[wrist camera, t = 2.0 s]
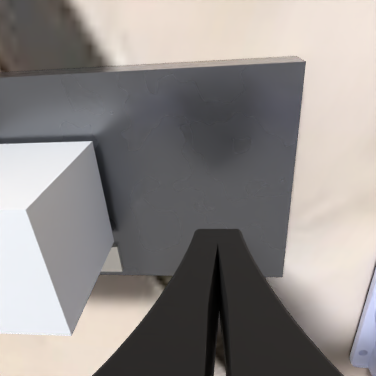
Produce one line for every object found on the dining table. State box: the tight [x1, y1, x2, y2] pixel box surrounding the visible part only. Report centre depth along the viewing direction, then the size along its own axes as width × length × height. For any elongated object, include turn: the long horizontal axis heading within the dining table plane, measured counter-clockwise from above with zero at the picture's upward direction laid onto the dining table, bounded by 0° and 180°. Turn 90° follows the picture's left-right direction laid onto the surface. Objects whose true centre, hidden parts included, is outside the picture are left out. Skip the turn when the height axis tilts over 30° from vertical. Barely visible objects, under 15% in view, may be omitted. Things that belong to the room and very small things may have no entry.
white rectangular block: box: [0, 141, 114, 336], centre depth 12 cm, size 5×7×5 cm
